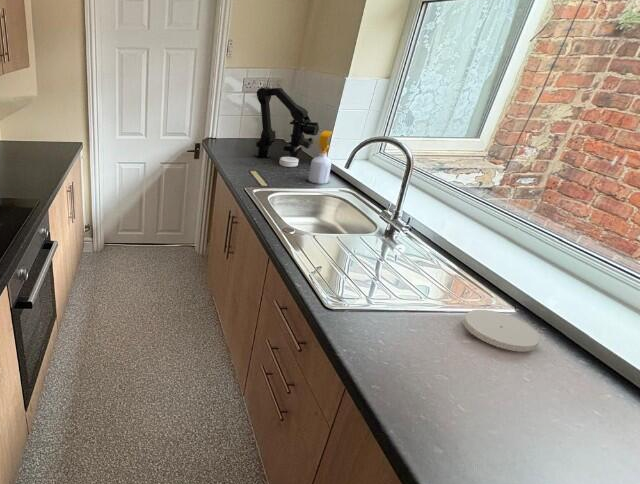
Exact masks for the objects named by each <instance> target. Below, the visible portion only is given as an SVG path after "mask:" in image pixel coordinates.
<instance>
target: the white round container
mask: <svg viewBox="0 0 640 484" xmlns="http://www.w3.org/2000/svg"><path fill="white" fill-rule="evenodd" d="M299 161H300V159H299V158H297V157H296V158H295V157H291V156H282V157H280V158H279V162H278V164H279V166H281V167H285V168H295V167H298V166H299Z"/></svg>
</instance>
